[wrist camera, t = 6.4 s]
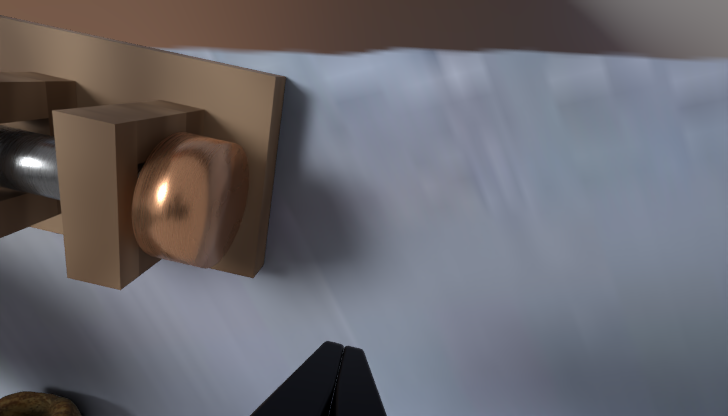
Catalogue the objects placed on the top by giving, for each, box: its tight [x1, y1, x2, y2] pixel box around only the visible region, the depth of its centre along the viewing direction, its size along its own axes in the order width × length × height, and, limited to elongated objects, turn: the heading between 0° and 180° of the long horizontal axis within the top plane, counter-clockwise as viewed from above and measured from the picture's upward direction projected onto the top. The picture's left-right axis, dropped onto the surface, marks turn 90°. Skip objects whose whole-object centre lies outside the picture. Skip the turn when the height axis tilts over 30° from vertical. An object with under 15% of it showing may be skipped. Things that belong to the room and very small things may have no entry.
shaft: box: [0, 125, 249, 269], centre depth 15 cm, size 12×5×5 cm, turn 79°
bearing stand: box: [0, 15, 286, 290], centre depth 16 cm, size 14×10×7 cm
